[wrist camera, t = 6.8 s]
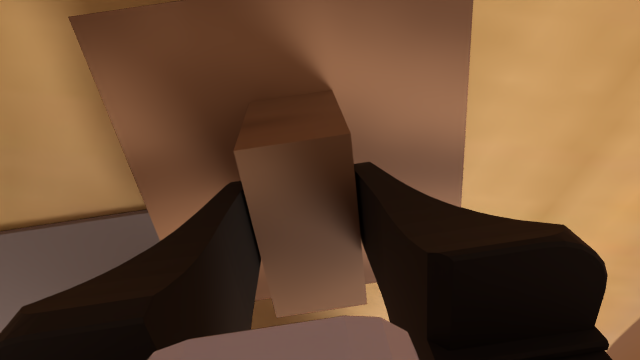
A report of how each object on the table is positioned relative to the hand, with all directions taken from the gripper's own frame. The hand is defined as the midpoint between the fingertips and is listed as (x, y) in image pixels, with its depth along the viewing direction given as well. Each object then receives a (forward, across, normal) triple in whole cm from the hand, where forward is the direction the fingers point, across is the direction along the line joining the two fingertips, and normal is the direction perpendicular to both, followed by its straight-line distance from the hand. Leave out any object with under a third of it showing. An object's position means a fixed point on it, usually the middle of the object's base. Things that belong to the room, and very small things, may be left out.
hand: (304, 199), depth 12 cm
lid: (+4, 0, 0) cm, 4 cm away
